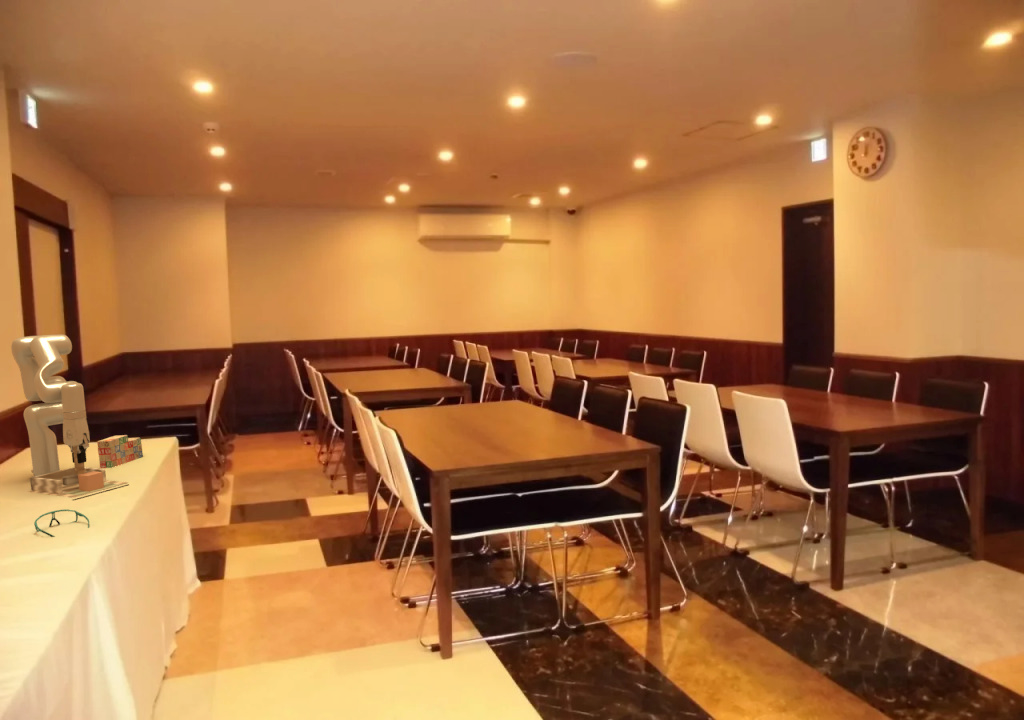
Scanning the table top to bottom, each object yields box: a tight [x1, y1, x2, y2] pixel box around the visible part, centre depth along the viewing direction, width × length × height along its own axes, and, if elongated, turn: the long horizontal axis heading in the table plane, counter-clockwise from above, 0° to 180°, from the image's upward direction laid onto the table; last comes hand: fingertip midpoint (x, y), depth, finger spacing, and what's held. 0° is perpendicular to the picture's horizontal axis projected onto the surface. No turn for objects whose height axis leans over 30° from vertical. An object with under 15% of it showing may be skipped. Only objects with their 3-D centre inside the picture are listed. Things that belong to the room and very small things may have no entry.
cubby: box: [27, 466, 130, 501], centre depth 293 cm, size 30×22×6 cm
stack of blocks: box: [97, 434, 144, 469], centre depth 342 cm, size 21×6×12 cm, turn 171°
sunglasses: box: [34, 509, 90, 538], centre depth 241 cm, size 14×15×5 cm
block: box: [78, 471, 104, 491], centre depth 289 cm, size 6×6×6 cm
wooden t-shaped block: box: [62, 443, 97, 486], centre depth 291 cm, size 3×12×16 cm, turn 152°
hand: (79, 461), depth 291 cm, fingers closed on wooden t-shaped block, 2 cm apart
